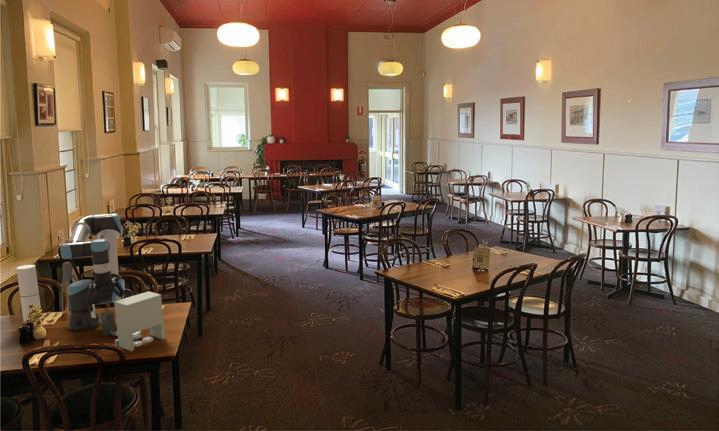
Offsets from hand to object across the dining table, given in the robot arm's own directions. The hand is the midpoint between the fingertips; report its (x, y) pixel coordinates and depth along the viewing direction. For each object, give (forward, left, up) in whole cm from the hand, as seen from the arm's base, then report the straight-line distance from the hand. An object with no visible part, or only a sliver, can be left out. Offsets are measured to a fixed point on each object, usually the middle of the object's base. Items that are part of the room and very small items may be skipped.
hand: (106, 313), depth 286 cm
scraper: (+7, 0, -11) cm, 13 cm away
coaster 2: (+23, +6, -11) cm, 27 cm away
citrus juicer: (-46, +4, -11) cm, 47 cm away
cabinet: (+23, +3, -11) cm, 26 cm away
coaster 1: (+23, 0, -11) cm, 26 cm away
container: (-54, -12, -11) cm, 56 cm away
